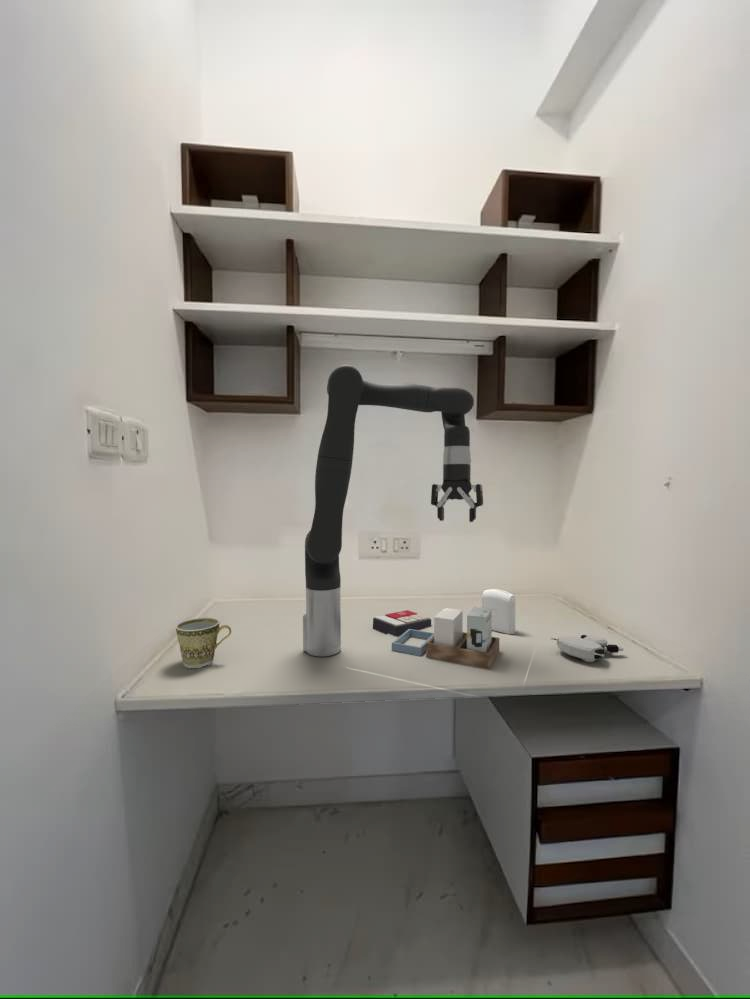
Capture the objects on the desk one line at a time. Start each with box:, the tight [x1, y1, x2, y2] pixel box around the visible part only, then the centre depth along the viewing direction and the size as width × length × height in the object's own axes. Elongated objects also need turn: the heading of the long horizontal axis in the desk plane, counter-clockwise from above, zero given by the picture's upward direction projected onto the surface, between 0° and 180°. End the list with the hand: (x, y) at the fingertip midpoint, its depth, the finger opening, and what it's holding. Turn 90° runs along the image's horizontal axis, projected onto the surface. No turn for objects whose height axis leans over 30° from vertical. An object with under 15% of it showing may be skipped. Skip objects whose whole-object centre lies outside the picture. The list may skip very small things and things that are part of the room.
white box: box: [433, 607, 464, 647], centre depth 111 cm, size 5×9×10 cm, turn 153°
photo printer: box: [481, 588, 516, 635], centre depth 129 cm, size 10×4×12 cm, turn 44°
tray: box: [391, 629, 434, 657], centre depth 116 cm, size 8×12×2 cm
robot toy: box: [550, 634, 624, 663], centre depth 110 cm, size 12×4×15 cm
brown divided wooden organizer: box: [425, 632, 500, 670], centre depth 110 cm, size 16×12×4 cm
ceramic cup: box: [175, 617, 232, 670], centre depth 105 cm, size 13×10×10 cm
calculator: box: [372, 609, 432, 637], centre depth 131 cm, size 11×4×15 cm
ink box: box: [466, 606, 493, 653], centre depth 108 cm, size 9×5×12 cm, turn 154°
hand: (456, 521), depth 119 cm, fingers open, 8 cm apart
